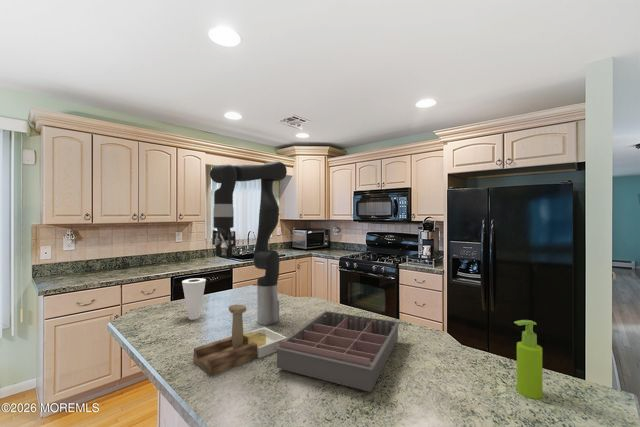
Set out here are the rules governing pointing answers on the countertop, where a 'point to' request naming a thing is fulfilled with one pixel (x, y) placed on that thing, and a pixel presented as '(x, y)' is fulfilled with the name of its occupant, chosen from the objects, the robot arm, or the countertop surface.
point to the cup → (193, 296)
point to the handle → (237, 325)
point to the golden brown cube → (260, 339)
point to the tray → (268, 341)
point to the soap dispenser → (529, 363)
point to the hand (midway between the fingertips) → (223, 257)
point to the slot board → (223, 355)
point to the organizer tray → (340, 349)
